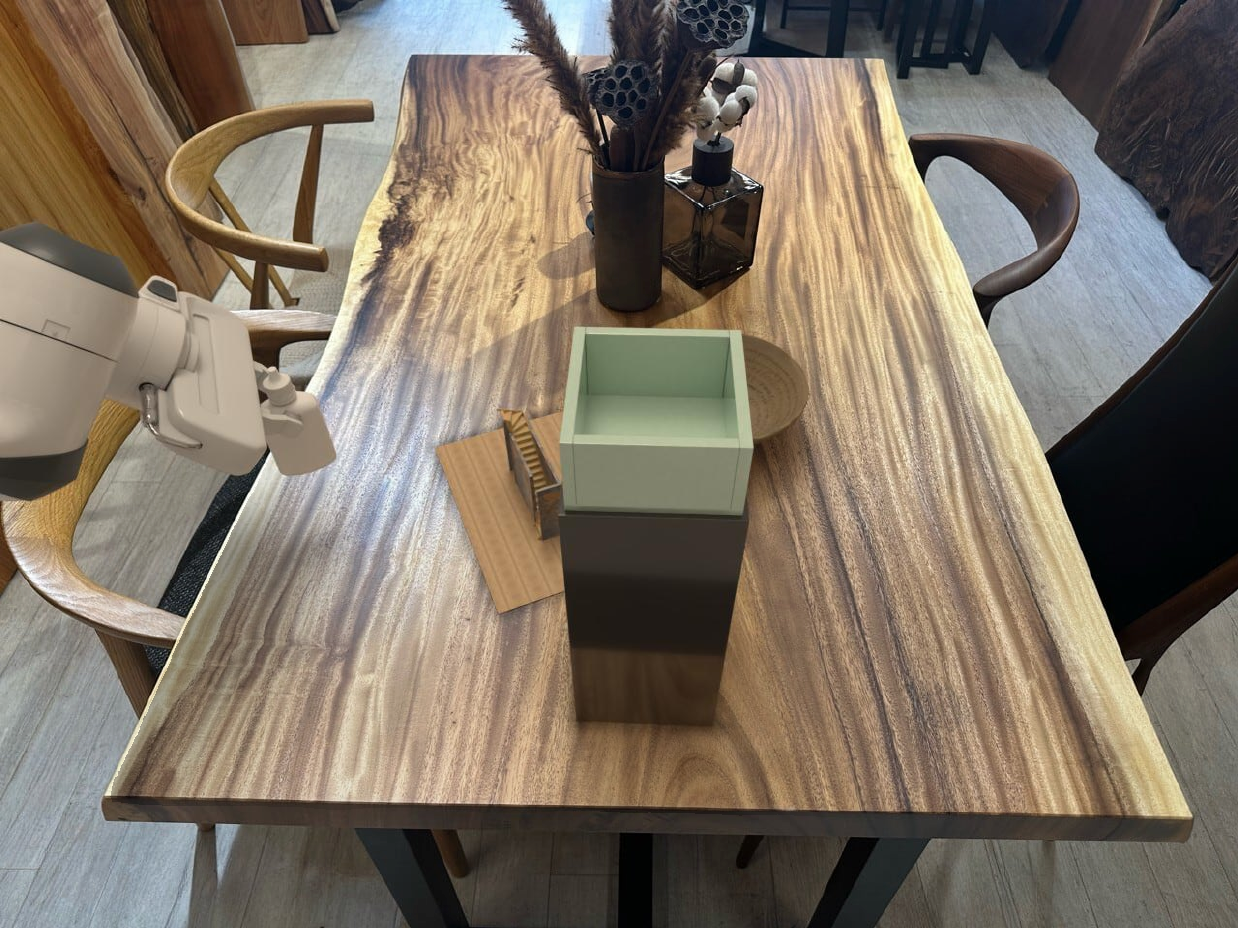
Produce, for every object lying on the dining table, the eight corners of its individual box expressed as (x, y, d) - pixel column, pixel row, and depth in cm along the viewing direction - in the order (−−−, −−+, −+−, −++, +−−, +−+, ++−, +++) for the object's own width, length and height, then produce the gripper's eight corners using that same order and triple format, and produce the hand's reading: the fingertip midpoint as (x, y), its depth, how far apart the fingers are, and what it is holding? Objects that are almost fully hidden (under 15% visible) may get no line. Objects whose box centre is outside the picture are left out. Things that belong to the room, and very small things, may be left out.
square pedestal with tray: (576, 721, 71) (551, 447, 46) (585, 606, 79) (568, 322, 54) (713, 726, 70) (761, 453, 46) (708, 610, 79) (746, 326, 54)
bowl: (823, 473, 91) (836, 422, 85) (665, 499, 89) (668, 447, 83) (768, 371, 104) (777, 320, 98) (629, 391, 101) (629, 339, 95)
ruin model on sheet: (434, 447, 94) (419, 384, 87) (565, 410, 99) (561, 346, 92) (498, 613, 78) (486, 552, 71) (651, 560, 83) (653, 497, 76)
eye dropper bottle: (289, 445, 83) (251, 352, 74) (342, 448, 82) (310, 355, 74) (273, 476, 79) (231, 383, 71) (328, 479, 79) (293, 386, 71)
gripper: (161, 403, 59) (331, 460, 69) (156, 264, 72) (299, 328, 82) (121, 463, 61) (292, 510, 71) (124, 317, 74) (267, 373, 84)
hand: (296, 411), depth 76 cm, fingers closed on eye dropper bottle, 3 cm apart
